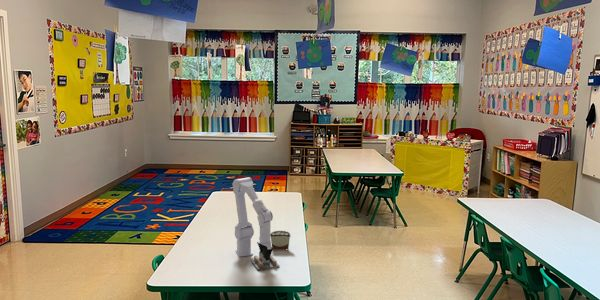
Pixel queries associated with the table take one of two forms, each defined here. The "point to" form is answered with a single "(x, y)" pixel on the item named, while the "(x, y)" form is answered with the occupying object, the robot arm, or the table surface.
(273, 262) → the slot seat
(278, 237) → the food container
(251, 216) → the table surface
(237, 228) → the robot arm
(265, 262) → the steel block
